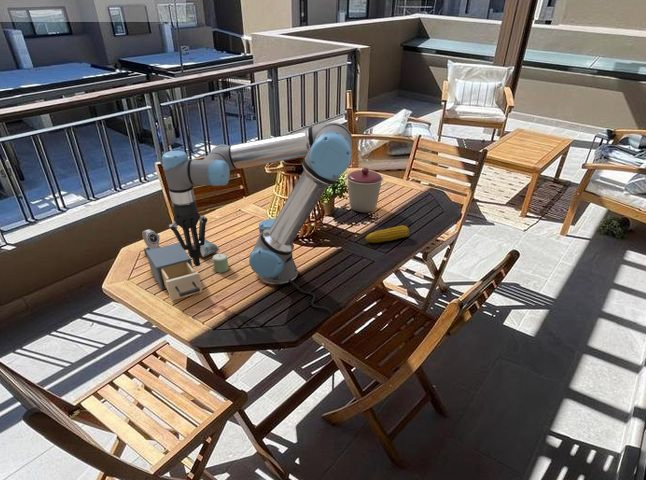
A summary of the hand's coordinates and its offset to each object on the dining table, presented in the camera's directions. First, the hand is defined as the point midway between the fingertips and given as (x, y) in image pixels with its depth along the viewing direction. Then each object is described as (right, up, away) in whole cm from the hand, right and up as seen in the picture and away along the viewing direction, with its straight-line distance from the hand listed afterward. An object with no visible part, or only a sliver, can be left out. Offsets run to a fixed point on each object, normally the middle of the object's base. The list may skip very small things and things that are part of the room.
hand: (197, 264), depth 159 cm
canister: (+63, +36, +71) cm, 101 cm away
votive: (+4, 0, +20) cm, 20 cm away
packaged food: (-7, +8, +29) cm, 31 cm away
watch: (-27, +7, +27) cm, 39 cm away
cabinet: (-14, -3, +14) cm, 20 cm away
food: (+72, +16, +43) cm, 86 cm away
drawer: (-6, -9, +5) cm, 12 cm away
